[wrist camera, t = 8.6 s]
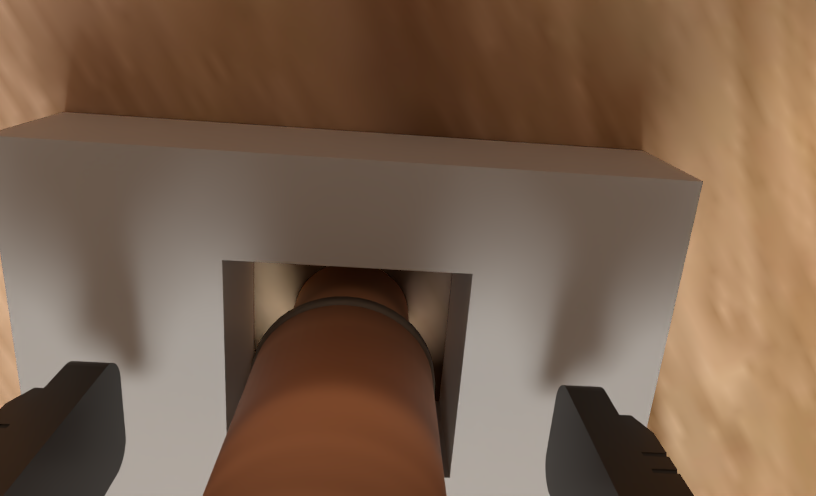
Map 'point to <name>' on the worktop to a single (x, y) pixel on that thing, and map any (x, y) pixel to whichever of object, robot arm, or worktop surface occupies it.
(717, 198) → the worktop surface
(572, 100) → the worktop surface
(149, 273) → the jig board
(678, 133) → the worktop surface
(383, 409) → the cherry peg
